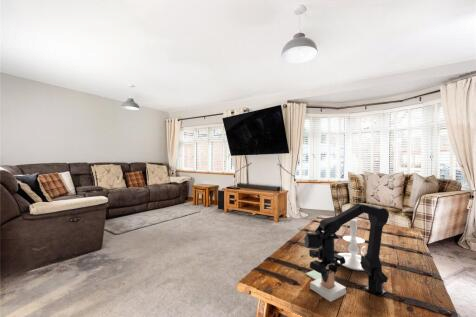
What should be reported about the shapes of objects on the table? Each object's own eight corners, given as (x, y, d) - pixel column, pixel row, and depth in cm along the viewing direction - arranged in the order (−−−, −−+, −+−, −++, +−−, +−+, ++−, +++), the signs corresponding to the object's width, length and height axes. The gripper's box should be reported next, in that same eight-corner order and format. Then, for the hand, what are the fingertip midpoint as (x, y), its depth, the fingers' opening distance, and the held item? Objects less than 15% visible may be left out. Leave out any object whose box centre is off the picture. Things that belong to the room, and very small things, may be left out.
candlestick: (384, 266, 122) (384, 218, 122) (363, 279, 108) (363, 225, 108) (348, 253, 139) (348, 211, 139) (327, 263, 125) (327, 216, 125)
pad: (316, 269, 117) (316, 269, 117) (331, 277, 109) (331, 276, 109) (305, 274, 113) (305, 273, 113) (319, 282, 105) (319, 281, 105)
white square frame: (325, 281, 106) (325, 275, 106) (345, 293, 96) (345, 287, 96) (310, 288, 100) (310, 282, 100) (330, 301, 91) (330, 294, 91)
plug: (327, 286, 101) (326, 268, 101) (334, 291, 97) (334, 272, 97) (321, 289, 99) (321, 270, 99) (329, 294, 95) (328, 274, 95)
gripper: (325, 238, 110) (325, 268, 110) (300, 245, 101) (300, 278, 100) (345, 245, 100) (346, 278, 100) (320, 254, 91) (320, 290, 91)
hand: (327, 280), depth 98 cm, fingers closed on plug, 4 cm apart
